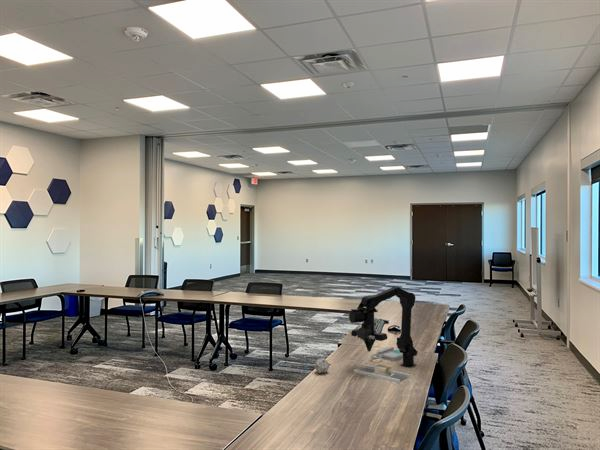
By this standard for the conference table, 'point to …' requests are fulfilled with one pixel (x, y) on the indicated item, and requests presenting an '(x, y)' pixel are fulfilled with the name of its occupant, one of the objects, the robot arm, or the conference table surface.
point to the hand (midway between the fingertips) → (369, 351)
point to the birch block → (383, 370)
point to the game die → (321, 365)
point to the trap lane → (394, 376)
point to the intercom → (388, 354)
